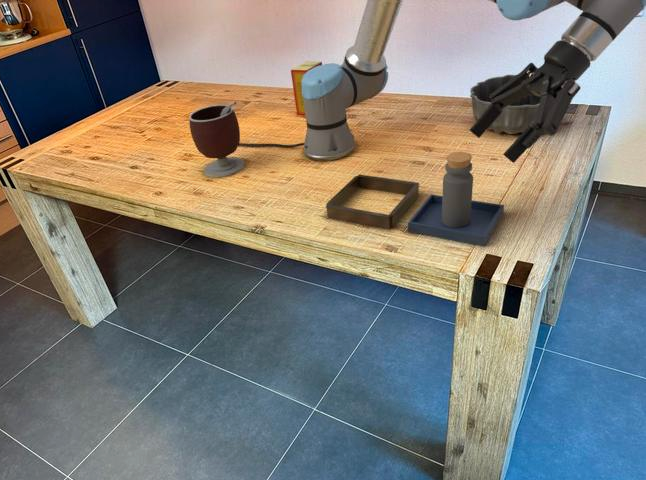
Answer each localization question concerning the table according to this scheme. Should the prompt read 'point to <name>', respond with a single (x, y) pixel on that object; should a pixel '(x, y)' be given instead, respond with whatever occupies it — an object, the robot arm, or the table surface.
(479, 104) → the bundt pan
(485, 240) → the tray
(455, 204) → the bottle
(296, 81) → the baking soda box
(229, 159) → the mate gourd
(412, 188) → the dark brown square frame
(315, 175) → the table surface
